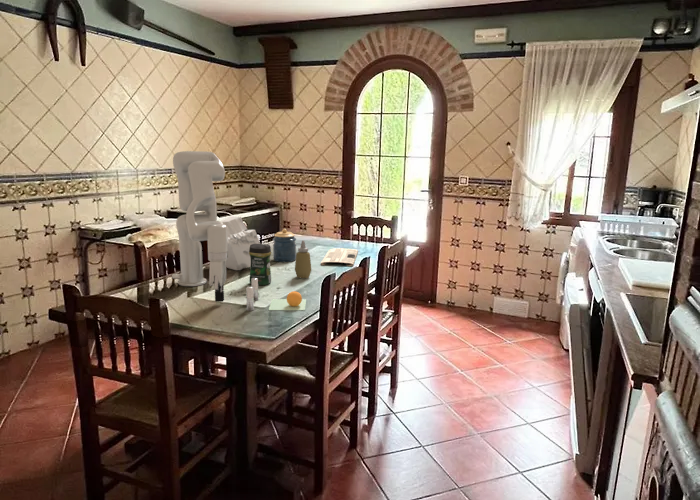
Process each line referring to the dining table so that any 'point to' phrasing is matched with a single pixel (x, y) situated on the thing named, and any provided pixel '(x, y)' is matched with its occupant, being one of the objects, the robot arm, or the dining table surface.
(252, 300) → the post
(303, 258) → the squeeze bottle
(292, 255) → the canister
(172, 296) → the dining table surface
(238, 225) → the white lumpy block
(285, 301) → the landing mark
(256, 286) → the post
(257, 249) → the coffee jar
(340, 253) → the newspaper
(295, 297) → the ball
